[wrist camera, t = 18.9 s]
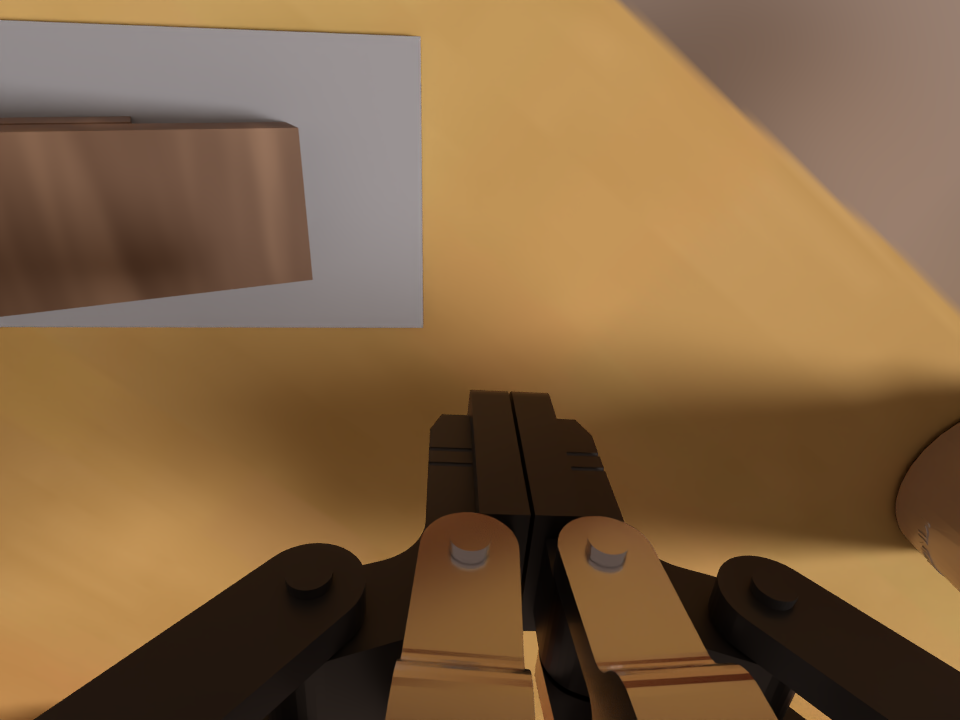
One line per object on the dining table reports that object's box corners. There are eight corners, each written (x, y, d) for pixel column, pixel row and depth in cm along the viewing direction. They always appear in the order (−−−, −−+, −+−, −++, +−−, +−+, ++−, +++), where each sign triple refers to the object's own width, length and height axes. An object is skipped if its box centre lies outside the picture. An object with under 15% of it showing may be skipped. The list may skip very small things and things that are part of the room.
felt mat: (420, 36, 20) (420, 36, 19) (423, 323, 24) (422, 327, 24) (-484, 1, 18) (-503, 0, 17) (-301, 322, 22) (-313, 326, 22)
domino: (298, 127, 18) (-196, 134, 14) (313, 279, 20) (-112, 330, 16) (285, 121, 20) (-162, 126, 15) (300, 263, 22) (-89, 304, 17)
